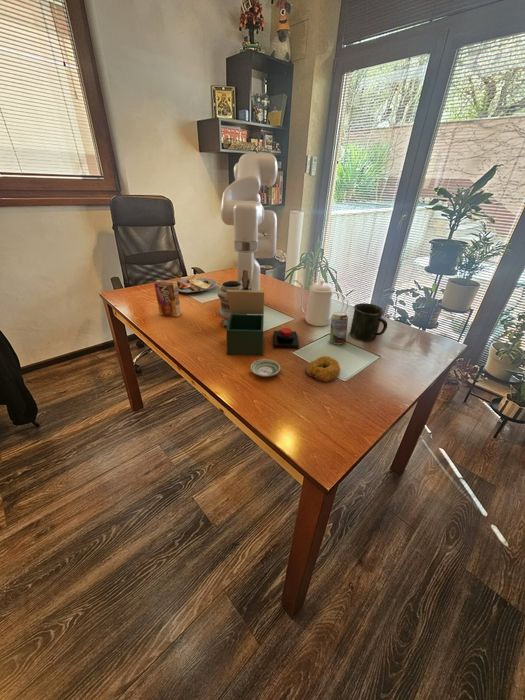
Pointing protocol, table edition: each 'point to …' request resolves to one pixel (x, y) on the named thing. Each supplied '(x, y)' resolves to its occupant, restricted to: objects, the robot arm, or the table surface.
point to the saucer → (265, 368)
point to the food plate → (195, 284)
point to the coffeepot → (319, 303)
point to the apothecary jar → (226, 299)
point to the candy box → (167, 298)
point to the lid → (246, 301)
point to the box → (245, 334)
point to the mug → (367, 322)
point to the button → (286, 332)
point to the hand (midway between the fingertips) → (246, 299)
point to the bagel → (324, 368)
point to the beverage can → (338, 327)
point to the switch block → (285, 340)
